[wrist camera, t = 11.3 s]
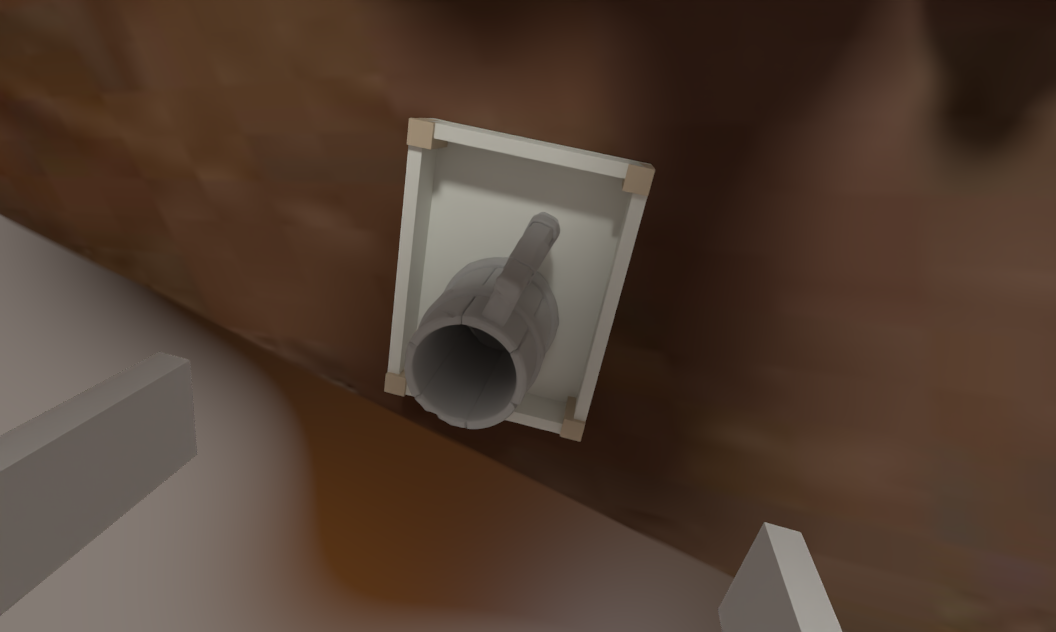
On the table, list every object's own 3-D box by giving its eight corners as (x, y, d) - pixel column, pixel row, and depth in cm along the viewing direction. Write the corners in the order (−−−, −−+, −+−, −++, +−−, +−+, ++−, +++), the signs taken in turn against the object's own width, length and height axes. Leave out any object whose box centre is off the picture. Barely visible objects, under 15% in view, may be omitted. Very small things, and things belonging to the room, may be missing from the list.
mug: (432, 326, 36) (349, 419, 25) (504, 171, 31) (442, 200, 20) (528, 378, 36) (488, 493, 25) (614, 231, 31) (613, 292, 20)
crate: (432, 117, 32) (409, 117, 28) (650, 163, 30) (655, 169, 27) (405, 366, 38) (384, 391, 35) (583, 411, 37) (580, 442, 34)
